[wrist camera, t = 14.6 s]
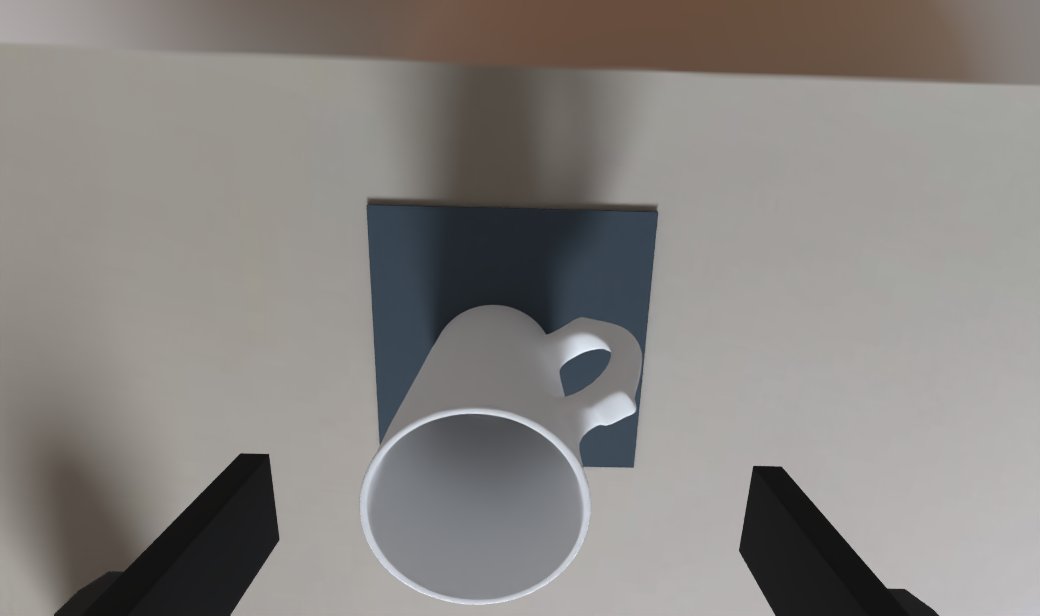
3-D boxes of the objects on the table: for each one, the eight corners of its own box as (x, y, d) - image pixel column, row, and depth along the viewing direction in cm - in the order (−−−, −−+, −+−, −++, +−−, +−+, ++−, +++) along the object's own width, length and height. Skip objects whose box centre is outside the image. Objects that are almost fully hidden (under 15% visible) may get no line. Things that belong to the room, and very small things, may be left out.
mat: (657, 211, 25) (658, 212, 24) (632, 465, 28) (633, 467, 28) (367, 204, 24) (366, 204, 24) (381, 460, 28) (380, 462, 28)
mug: (475, 441, 28) (445, 639, 16) (402, 343, 26) (311, 483, 14) (636, 347, 26) (732, 488, 15) (569, 237, 25) (616, 299, 13)
